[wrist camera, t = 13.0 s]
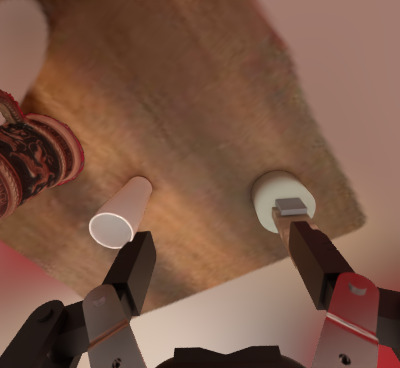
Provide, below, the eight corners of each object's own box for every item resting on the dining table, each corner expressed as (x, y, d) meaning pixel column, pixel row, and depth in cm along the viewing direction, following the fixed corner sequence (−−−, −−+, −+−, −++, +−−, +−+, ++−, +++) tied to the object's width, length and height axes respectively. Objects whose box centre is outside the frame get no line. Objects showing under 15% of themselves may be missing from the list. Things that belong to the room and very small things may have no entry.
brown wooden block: (271, 207, 38) (297, 257, 27) (300, 204, 37) (338, 254, 27) (271, 216, 39) (295, 268, 28) (300, 214, 38) (335, 266, 27)
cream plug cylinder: (250, 172, 43) (262, 198, 33) (302, 168, 42) (329, 193, 32) (251, 214, 47) (261, 248, 37) (298, 211, 46) (321, 244, 37)
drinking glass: (136, 165, 43) (102, 203, 29) (162, 186, 45) (142, 230, 31) (118, 187, 45) (79, 232, 32) (144, 206, 47) (118, 256, 33)
